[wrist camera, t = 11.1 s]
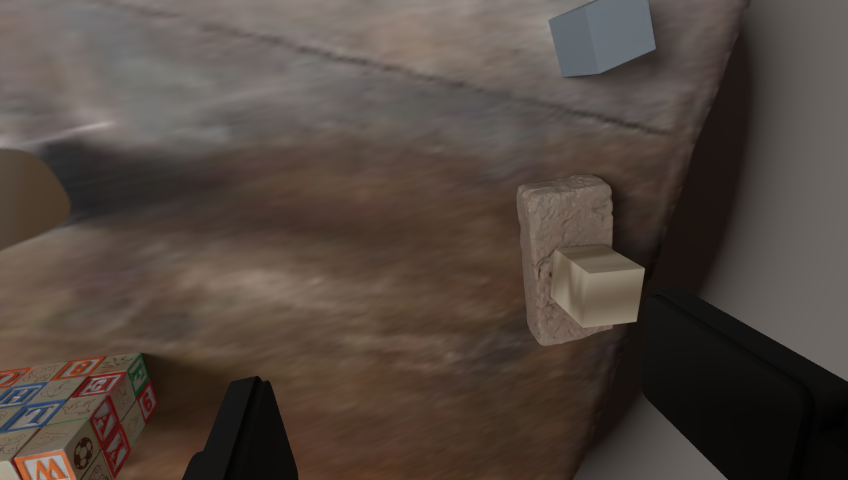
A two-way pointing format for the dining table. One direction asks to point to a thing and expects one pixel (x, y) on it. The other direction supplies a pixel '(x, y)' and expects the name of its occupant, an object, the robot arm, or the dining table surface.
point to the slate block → (602, 35)
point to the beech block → (596, 285)
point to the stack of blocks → (73, 417)
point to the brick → (559, 245)
